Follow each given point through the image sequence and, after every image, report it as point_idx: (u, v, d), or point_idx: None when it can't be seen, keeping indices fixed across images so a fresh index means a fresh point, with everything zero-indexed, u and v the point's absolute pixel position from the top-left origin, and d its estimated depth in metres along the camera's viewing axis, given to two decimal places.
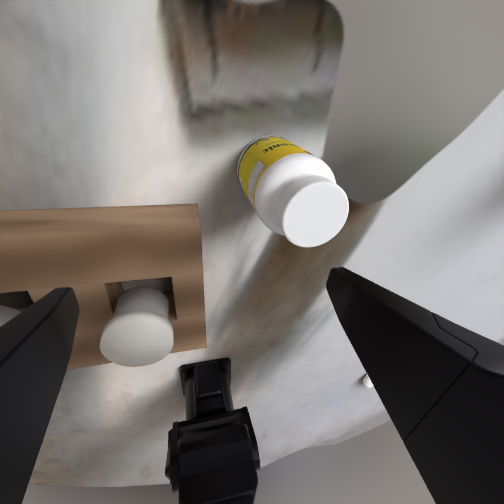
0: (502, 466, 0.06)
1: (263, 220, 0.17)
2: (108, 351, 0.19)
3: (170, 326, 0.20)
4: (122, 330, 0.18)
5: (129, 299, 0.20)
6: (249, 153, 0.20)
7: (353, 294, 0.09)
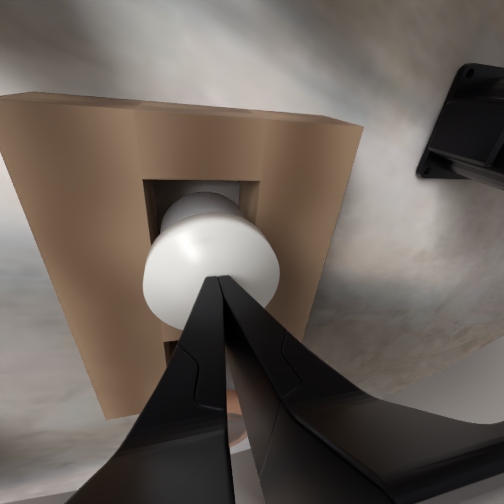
0: None
1: None
2: None
3: (191, 220, 0.09)
4: (167, 305, 0.09)
5: None
6: None
7: (224, 307, 0.08)
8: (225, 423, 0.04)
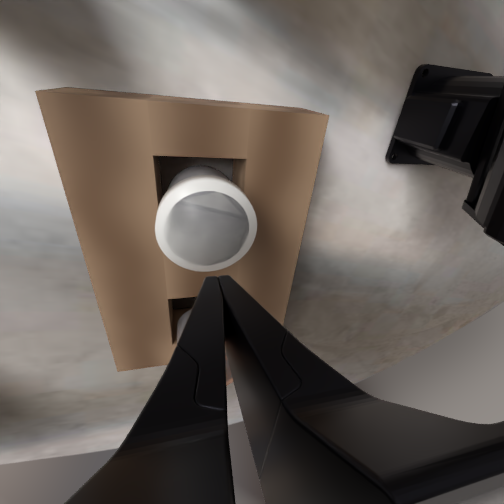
0: None
1: None
2: (211, 264, 0.14)
3: (190, 179, 0.12)
4: (172, 245, 0.13)
5: None
6: None
7: (224, 307, 0.08)
8: (225, 423, 0.04)
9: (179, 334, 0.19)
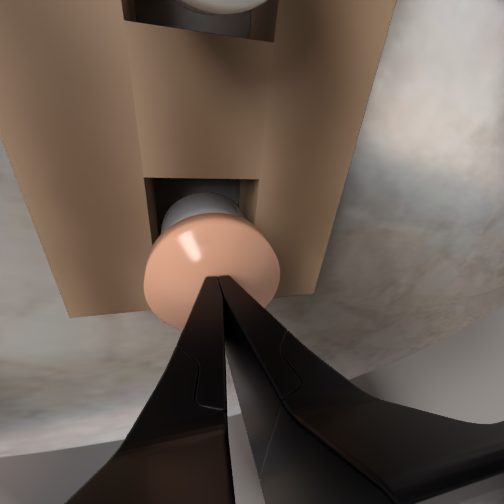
0: None
1: None
2: None
3: None
4: None
5: None
6: None
7: (224, 307, 0.08)
8: (225, 423, 0.04)
9: (163, 231, 0.11)
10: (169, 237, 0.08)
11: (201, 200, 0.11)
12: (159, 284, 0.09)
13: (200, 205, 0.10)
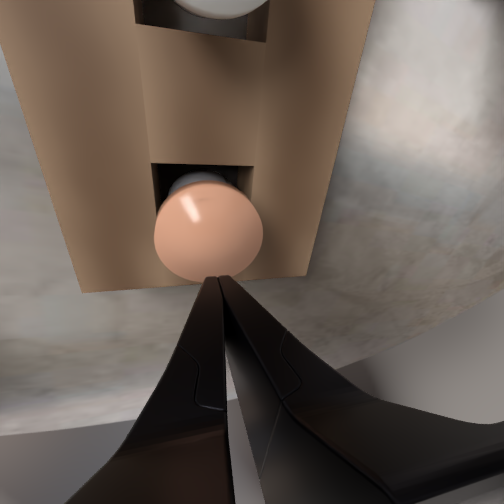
0: None
1: None
2: None
3: None
4: None
5: None
6: None
7: (224, 307, 0.08)
8: (225, 423, 0.04)
9: None
10: (174, 197, 0.11)
11: (199, 175, 0.13)
12: (166, 236, 0.11)
13: (199, 178, 0.13)
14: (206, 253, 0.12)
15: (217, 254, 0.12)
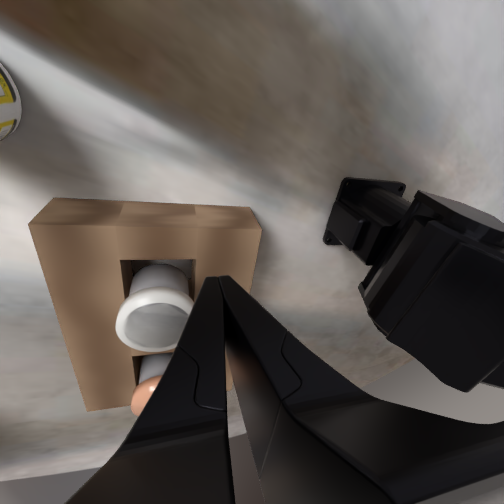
0: None
1: None
2: (162, 346, 0.18)
3: (144, 292, 0.16)
4: (129, 336, 0.17)
5: None
6: None
7: (224, 307, 0.08)
8: (225, 423, 0.04)
9: (141, 372, 0.24)
10: (142, 389, 0.21)
11: (159, 357, 0.24)
12: (137, 405, 0.22)
13: (158, 362, 0.23)
14: None
15: None
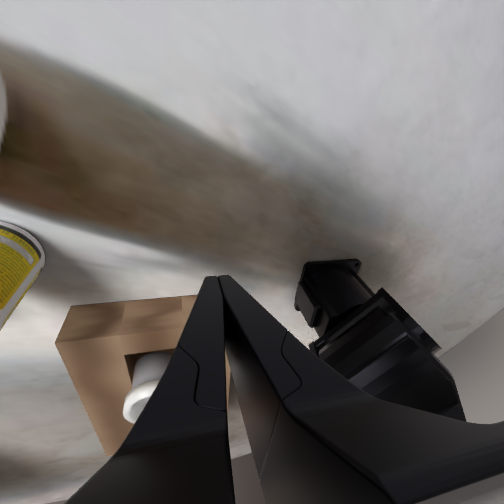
0: None
1: None
2: None
3: (142, 387, 0.21)
4: (134, 417, 0.22)
5: None
6: None
7: (224, 307, 0.08)
8: (225, 423, 0.04)
9: None
10: None
11: None
12: None
13: None
14: None
15: None
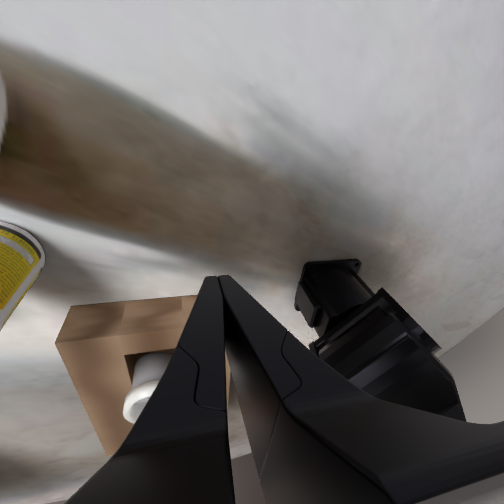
0: None
1: None
2: None
3: (142, 387, 0.21)
4: (134, 417, 0.22)
5: None
6: None
7: (224, 307, 0.08)
8: (225, 423, 0.04)
9: None
10: None
11: None
12: None
13: None
14: None
15: None
